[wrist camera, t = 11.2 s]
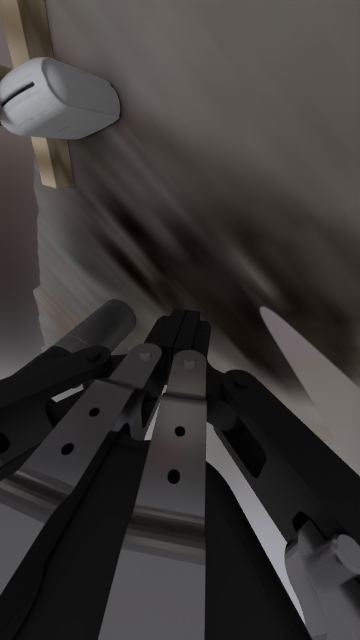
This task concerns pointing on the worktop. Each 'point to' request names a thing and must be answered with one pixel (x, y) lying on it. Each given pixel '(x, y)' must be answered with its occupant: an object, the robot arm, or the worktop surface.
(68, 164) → the retention stand
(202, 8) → the worktop surface
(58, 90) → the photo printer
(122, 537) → the robot arm
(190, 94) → the worktop surface
